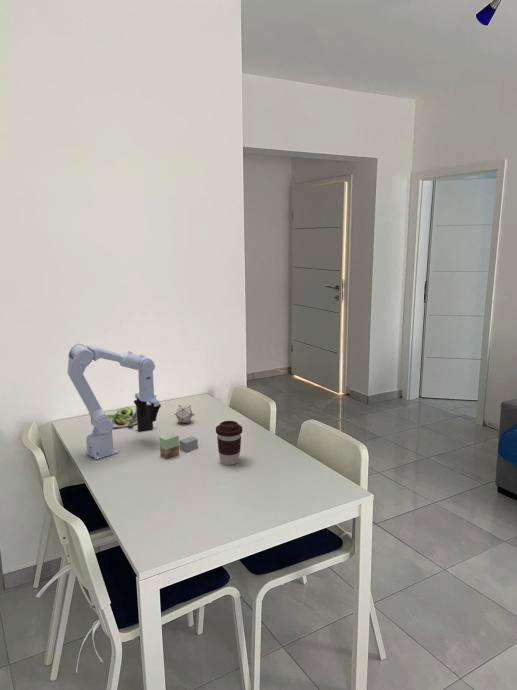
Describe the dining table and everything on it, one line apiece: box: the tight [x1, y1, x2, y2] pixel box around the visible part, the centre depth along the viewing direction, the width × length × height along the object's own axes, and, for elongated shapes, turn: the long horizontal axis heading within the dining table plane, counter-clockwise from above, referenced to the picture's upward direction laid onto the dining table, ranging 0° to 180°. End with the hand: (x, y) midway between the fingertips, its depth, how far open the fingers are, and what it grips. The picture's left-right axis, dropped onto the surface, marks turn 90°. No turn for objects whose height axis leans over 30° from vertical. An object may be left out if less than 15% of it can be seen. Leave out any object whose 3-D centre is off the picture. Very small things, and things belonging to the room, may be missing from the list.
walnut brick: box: [159, 446, 180, 460], centre depth 203 cm, size 6×4×4 cm, turn 134°
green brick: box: [159, 432, 180, 450], centre depth 202 cm, size 6×4×4 cm, turn 133°
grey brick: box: [179, 435, 199, 453], centre depth 210 cm, size 6×4×4 cm, turn 135°
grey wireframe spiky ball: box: [173, 404, 195, 425], centre depth 237 cm, size 9×8×10 cm
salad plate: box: [106, 406, 137, 430], centre depth 238 cm, size 19×18×5 cm
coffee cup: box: [215, 420, 243, 466], centre depth 197 cm, size 10×10×15 cm
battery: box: [135, 403, 154, 432], centre depth 229 cm, size 7×4×11 cm, turn 115°
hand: (147, 418), depth 213 cm, fingers open, 7 cm apart
